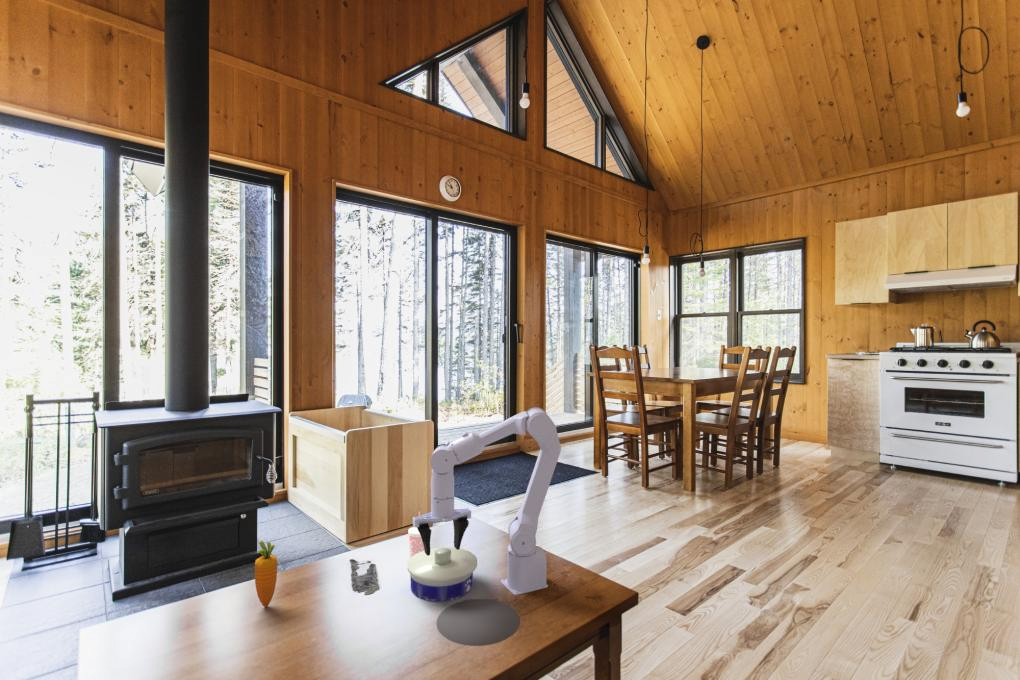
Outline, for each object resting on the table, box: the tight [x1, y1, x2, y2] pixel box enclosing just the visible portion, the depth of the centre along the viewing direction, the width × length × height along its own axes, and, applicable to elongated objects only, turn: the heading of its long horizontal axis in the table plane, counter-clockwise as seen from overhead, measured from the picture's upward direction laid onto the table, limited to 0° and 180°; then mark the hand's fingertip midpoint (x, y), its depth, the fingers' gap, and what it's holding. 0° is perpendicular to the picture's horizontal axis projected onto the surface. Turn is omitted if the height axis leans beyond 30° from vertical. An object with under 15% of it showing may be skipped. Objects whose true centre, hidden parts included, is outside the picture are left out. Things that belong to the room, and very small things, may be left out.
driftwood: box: [349, 558, 380, 596], centre depth 129 cm, size 21×7×2 cm, turn 18°
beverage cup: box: [407, 511, 425, 559], centre depth 138 cm, size 6×6×14 cm
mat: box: [436, 598, 521, 647], centre depth 109 cm, size 18×18×1 cm
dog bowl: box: [409, 571, 474, 603], centre depth 124 cm, size 15×15×6 cm
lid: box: [407, 546, 478, 581], centre depth 124 cm, size 17×17×3 cm
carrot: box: [254, 540, 278, 608], centre depth 115 cm, size 5×5×15 cm
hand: (442, 551), depth 124 cm, fingers open, 7 cm apart
